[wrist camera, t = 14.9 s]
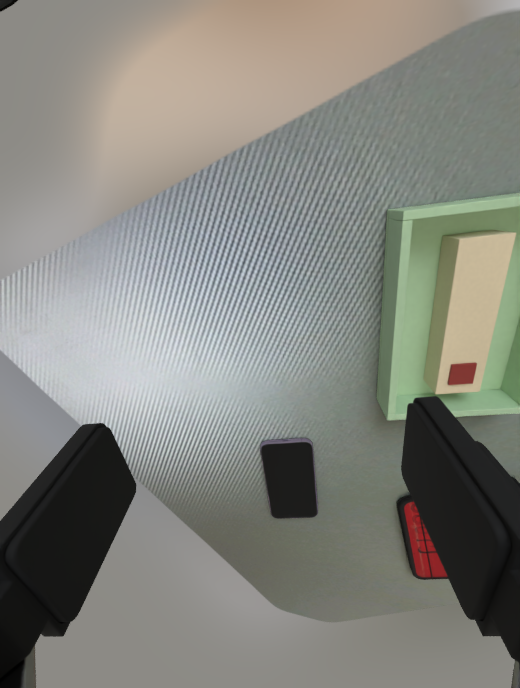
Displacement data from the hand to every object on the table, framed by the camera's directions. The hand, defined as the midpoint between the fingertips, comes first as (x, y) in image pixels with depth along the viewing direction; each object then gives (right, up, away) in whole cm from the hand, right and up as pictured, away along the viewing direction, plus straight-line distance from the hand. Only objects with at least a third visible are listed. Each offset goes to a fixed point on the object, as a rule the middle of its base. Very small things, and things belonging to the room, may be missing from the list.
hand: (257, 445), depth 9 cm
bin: (+21, +7, +22) cm, 31 cm away
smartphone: (+5, -16, +34) cm, 38 cm away
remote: (+20, +6, +21) cm, 30 cm away
